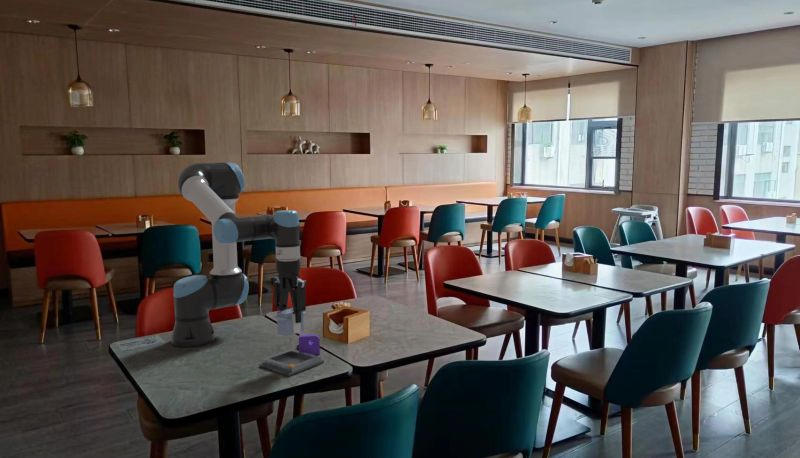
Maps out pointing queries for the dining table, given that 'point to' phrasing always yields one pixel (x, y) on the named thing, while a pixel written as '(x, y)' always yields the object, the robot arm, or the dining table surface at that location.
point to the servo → (287, 322)
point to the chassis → (290, 362)
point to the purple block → (309, 344)
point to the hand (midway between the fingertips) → (291, 331)
